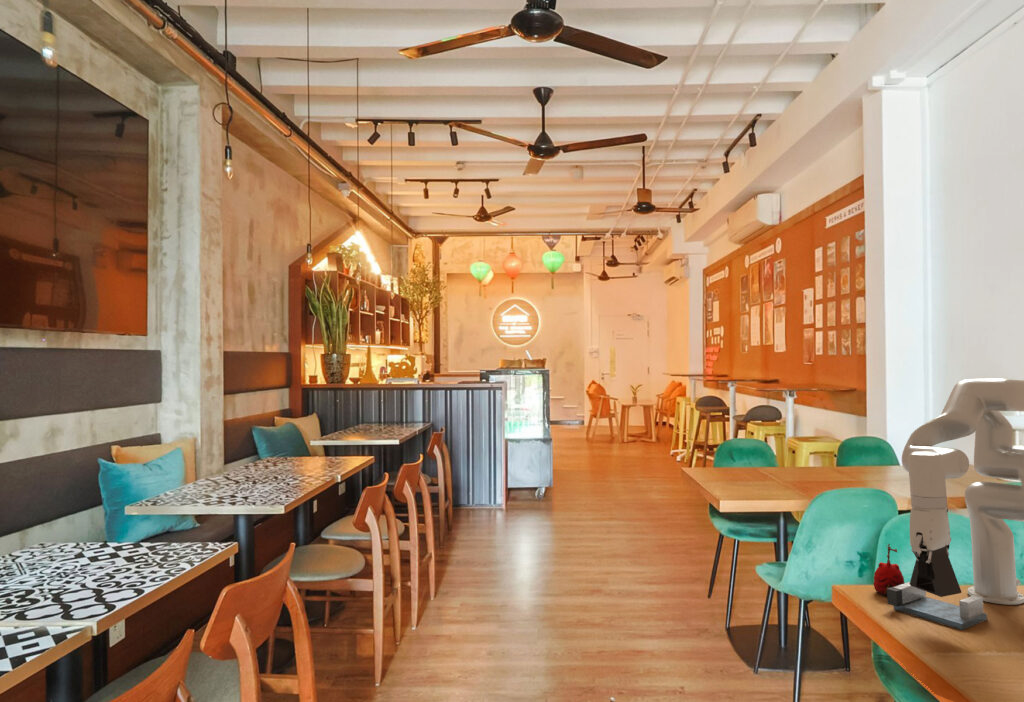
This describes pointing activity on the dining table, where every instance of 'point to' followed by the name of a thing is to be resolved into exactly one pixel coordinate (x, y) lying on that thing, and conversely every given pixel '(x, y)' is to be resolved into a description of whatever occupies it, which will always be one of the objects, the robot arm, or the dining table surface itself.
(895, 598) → the block
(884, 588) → the red clay folk toy
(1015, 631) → the dining table surface
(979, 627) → the dining table surface
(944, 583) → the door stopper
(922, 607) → the dark grey base plate
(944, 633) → the dining table surface
